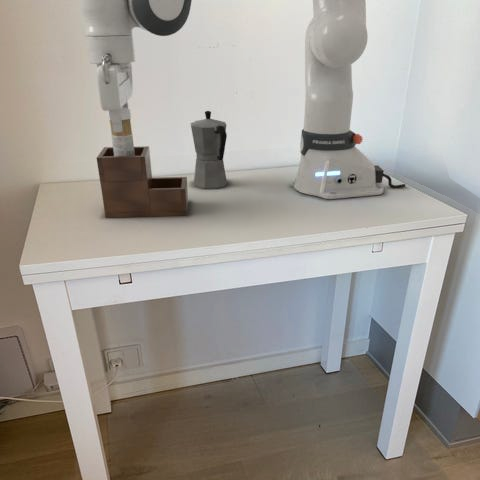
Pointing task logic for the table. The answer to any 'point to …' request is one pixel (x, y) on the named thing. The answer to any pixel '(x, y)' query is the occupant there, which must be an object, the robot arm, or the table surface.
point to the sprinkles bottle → (123, 136)
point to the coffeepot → (209, 152)
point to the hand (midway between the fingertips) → (121, 127)
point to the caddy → (138, 187)
